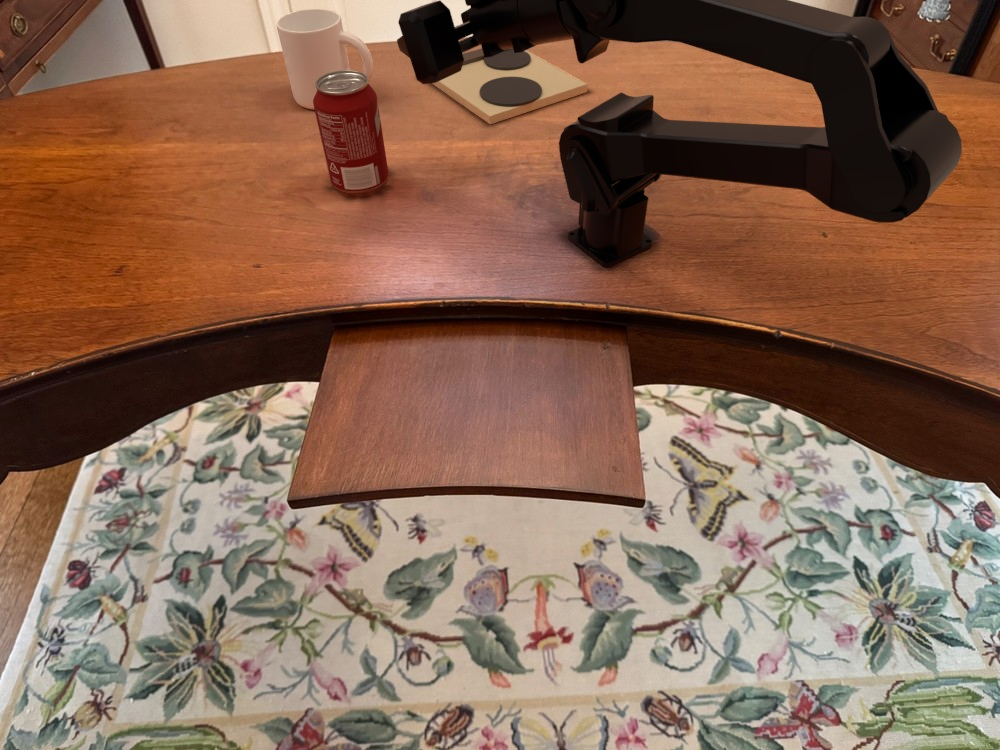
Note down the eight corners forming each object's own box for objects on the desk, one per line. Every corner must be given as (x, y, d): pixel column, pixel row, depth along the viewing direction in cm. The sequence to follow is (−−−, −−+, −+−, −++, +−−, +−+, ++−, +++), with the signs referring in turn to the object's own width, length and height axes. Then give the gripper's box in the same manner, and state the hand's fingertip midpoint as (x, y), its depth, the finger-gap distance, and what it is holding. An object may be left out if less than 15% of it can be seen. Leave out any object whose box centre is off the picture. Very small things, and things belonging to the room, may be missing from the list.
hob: (587, 92, 98) (588, 79, 97) (490, 125, 92) (490, 112, 91) (513, 50, 109) (513, 38, 108) (422, 77, 103) (421, 64, 102)
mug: (387, 88, 101) (377, 11, 93) (368, 115, 95) (354, 35, 88) (308, 83, 103) (291, 6, 95) (284, 109, 97) (265, 30, 90)
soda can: (385, 198, 81) (368, 94, 72) (326, 198, 81) (303, 95, 73) (392, 167, 86) (378, 66, 77) (337, 167, 86) (316, 68, 77)
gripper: (584, -116, 65) (471, -76, 75) (435, -69, 55) (331, -31, 66) (608, 16, 70) (500, 35, 81) (477, 79, 61) (374, 91, 72)
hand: (432, 31), depth 75 cm, fingers open, 9 cm apart
